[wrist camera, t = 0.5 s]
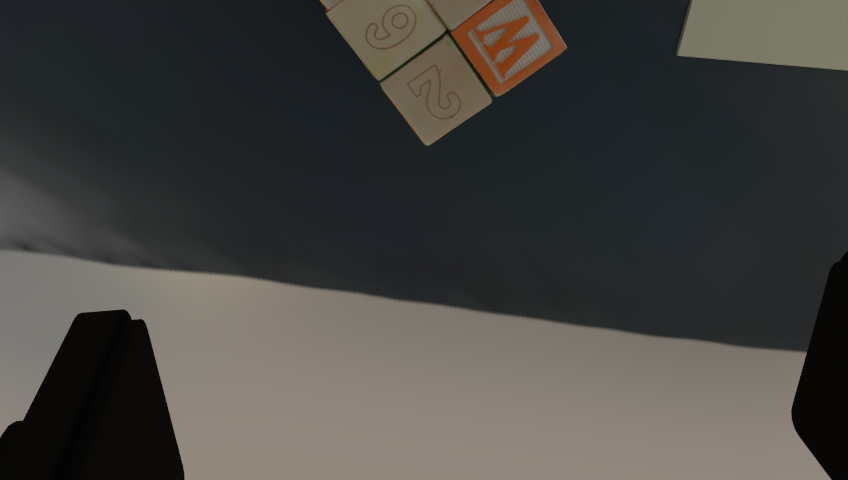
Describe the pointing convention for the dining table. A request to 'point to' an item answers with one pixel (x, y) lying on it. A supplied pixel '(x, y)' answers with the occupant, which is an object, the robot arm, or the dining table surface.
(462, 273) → the dining table surface
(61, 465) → the robot arm
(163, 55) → the dining table surface
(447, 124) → the stack of blocks
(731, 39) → the mat
